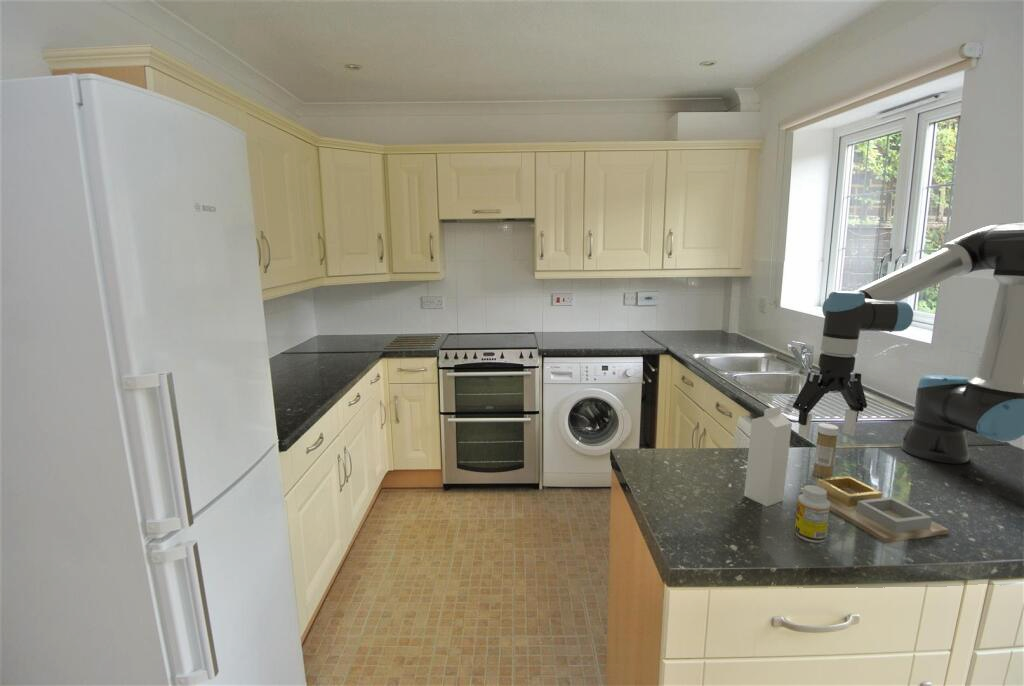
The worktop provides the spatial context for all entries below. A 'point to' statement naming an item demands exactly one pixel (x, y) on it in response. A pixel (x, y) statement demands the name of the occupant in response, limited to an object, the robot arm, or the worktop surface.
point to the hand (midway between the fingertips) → (825, 435)
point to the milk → (768, 457)
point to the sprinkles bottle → (825, 450)
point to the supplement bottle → (812, 514)
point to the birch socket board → (875, 528)
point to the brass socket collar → (845, 498)
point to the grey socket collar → (909, 523)
